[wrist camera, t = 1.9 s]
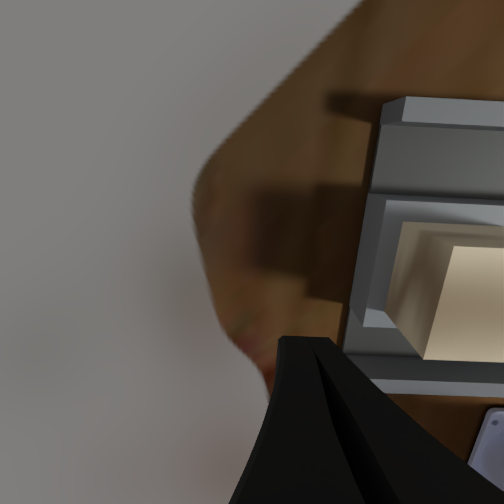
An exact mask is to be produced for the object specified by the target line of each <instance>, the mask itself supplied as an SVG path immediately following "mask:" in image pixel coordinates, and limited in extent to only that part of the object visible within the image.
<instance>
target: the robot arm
mask: <svg viewBox="0 0 504 504" xmlns="http://www.w3.org/2000/svg"><path fill="white" fill-rule="evenodd" d="M229 504H504V408H491V409H489V410H488V411H487V413H486V416H485V419H484V421H483V424H482V427H481V429H480V432H479V435H478V437H477V440H476V442H475V445H474V448H473V450H472V453H471V456H470V458H469V461H468V464H467V463H465V462H464V461H463V460H462V459H460V458H459V457H458V456H457V455H455V454H454V453H453V452H451V451H450V450H449V449H448V448H446V447H445V446H444V445H443V444H441V443H440V442H439V441H438V440H437V439H435V438H434V437H433V436H432V435H430V434H429V433H428V432H427V431H426V430H425V429H423V428H422V427H421V426H420V425H419V424H418V423H417V422H416V421H414V420H413V419H412V418H411V417H410V416H409V415H408V414H406V413H405V412H404V411H403V410H402V409H401V408H400V407H399V406H397V405H396V404H395V403H394V402H393V401H392V400H391V399H390V398H389V397H388V396H387V395H386V394H385V393H383V392H382V391H381V390H380V389H379V388H378V387H377V386H376V385H375V384H374V383H373V382H372V381H371V380H370V379H369V378H368V377H367V376H366V375H365V374H364V373H363V372H362V371H361V370H360V369H359V368H358V367H357V366H356V365H355V364H354V363H353V362H352V361H351V360H350V359H349V358H348V357H347V356H346V355H345V354H344V353H343V351H342V350H341V349H340V348H339V347H338V346H337V345H336V344H335V343H334V342H333V341H332V340H331V339H330V338H329V337H304V336H282V337H281V338H279V339H278V348H277V359H276V371H275V382H274V389H273V392H272V396H271V399H270V402H269V405H268V408H267V412H266V415H265V418H264V421H263V424H262V427H261V429H260V432H259V435H258V437H257V440H256V443H255V445H254V448H253V450H252V452H251V455H250V457H249V460H248V462H247V465H246V467H245V469H244V471H243V473H242V476H241V478H240V480H239V482H238V484H237V486H236V489H235V491H234V493H233V495H232V497H231V499H230V502H229Z"/></svg>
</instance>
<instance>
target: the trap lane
mask: <svg viewBox="0 0 504 504" xmlns="http://www.w3.org/2000/svg"><path fill="white" fill-rule="evenodd" d="M403 222H425V223H446V224H467V225H488V226H504V102H500V101H482V100H464V99H446V98H428V97H410V96H406V97H403V98H400V99H397V100H394V101H391V102H388V103H384V104H383V106H382V112H381V118H380V124H379V130H378V136H377V142H376V148H375V154H374V160H373V166H372V172H371V178H370V184H369V190H368V196H367V202H366V207H365V213H364V219H363V225H362V231H361V237H360V243H359V249H358V255H357V261H356V267H355V273H354V279H353V285H352V291H351V297H350V303H349V309H348V315H347V321H346V326H345V332H344V338H343V344H342V351H343V353H344V354H345V355H346V356H347V357H348V358H349V359H350V360H351V361H352V362H353V363H354V364H355V365H356V366H357V367H358V368H359V369H360V370H361V371H362V372H363V373H364V374H365V375H366V376H367V377H368V378H369V379H370V380H371V381H372V382H373V383H374V384H375V385H376V386H377V387H378V388H379V389H380V390H381V391H382V392H383V393H395V394H423V395H451V396H479V397H504V363H503V362H477V361H451V360H424V359H422V357H421V356H420V355H419V354H418V352H417V351H416V350H415V349H414V348H413V346H412V345H411V344H410V343H409V341H408V340H407V339H406V338H405V337H404V335H403V334H402V333H401V332H400V330H399V329H398V328H397V327H396V325H395V324H394V323H393V322H392V321H391V319H390V318H389V317H388V316H387V314H386V313H385V312H384V310H385V305H386V300H387V295H388V291H389V286H390V281H391V276H392V272H393V267H394V262H395V257H396V253H397V248H398V243H399V238H400V234H401V229H402V224H403Z"/></svg>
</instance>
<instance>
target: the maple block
mask: <svg viewBox="0 0 504 504" xmlns="http://www.w3.org/2000/svg"><path fill="white" fill-rule="evenodd" d="M384 312H385V313H386V314H387V316H388V317H389V318H390V319H391V321H392V322H393V323H394V324H395V325H396V327H397V328H398V329H399V330H400V332H401V333H402V334H403V335H404V337H405V338H406V339H407V340H408V341H409V343H410V344H411V345H412V346H413V348H414V349H415V350H416V351H417V352H418V354H419V355H420V356H421V357H422V359H424V360H451V361H477V362H503V363H504V226H488V225H467V224H446V223H425V222H403V224H402V229H401V234H400V238H399V243H398V248H397V253H396V257H395V262H394V267H393V272H392V276H391V281H390V286H389V291H388V295H387V300H386V305H385V310H384Z"/></svg>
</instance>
